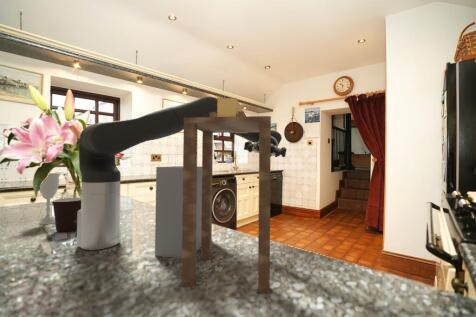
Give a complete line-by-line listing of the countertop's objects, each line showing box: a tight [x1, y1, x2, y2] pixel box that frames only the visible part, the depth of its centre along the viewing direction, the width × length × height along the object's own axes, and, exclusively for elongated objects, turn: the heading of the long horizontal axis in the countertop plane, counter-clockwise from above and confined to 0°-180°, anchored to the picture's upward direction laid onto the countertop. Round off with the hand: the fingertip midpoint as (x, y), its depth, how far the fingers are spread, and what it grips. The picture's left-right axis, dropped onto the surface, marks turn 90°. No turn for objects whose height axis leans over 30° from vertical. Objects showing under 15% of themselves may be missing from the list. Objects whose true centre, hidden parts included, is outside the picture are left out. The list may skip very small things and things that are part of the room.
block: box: [154, 165, 202, 259], centre depth 62 cm, size 9×14×22 cm, turn 172°
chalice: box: [38, 172, 61, 226], centre depth 85 cm, size 7×7×18 cm
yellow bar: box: [217, 97, 248, 133], centre depth 53 cm, size 4×22×4 cm, turn 172°
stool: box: [181, 110, 272, 295], centre depth 48 cm, size 16×14×32 cm
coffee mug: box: [52, 197, 81, 234], centre depth 78 cm, size 12×9×10 cm
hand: (263, 151), depth 73 cm, fingers open, 8 cm apart
